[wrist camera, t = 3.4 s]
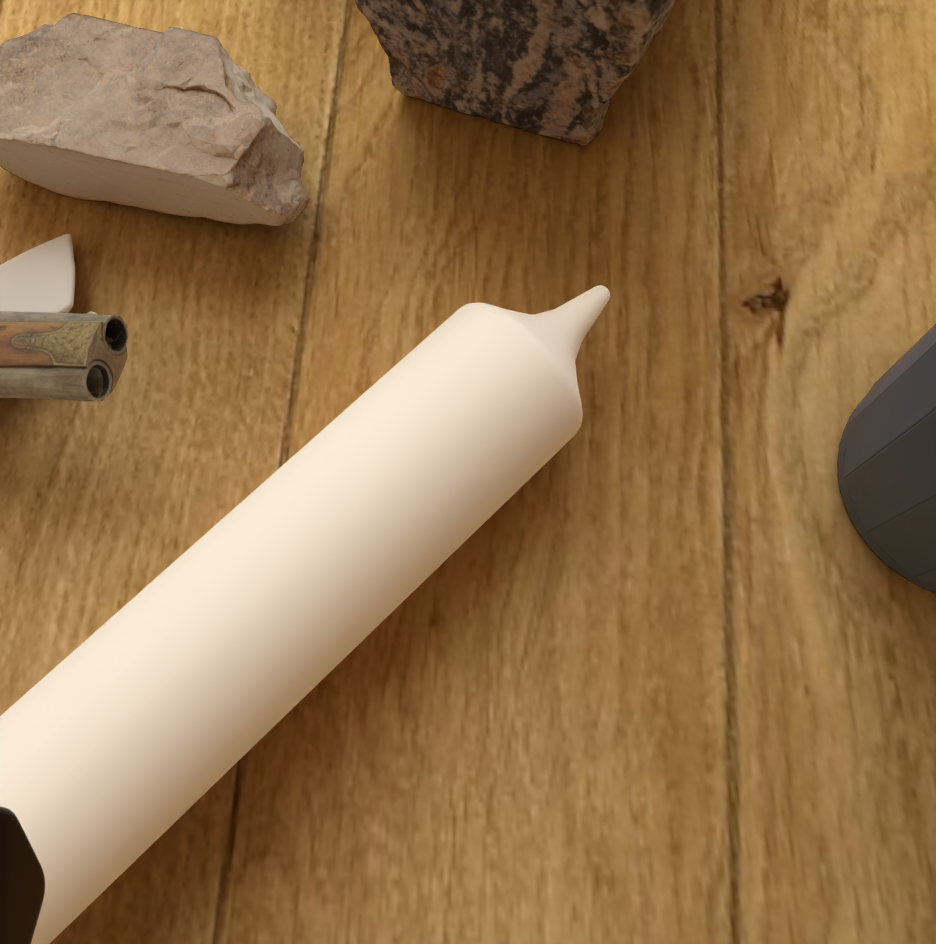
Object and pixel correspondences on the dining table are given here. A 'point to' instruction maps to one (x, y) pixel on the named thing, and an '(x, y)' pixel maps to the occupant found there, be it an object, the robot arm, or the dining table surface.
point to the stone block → (518, 56)
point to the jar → (896, 465)
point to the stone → (145, 123)
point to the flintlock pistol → (60, 355)
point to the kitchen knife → (40, 278)
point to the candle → (282, 593)
